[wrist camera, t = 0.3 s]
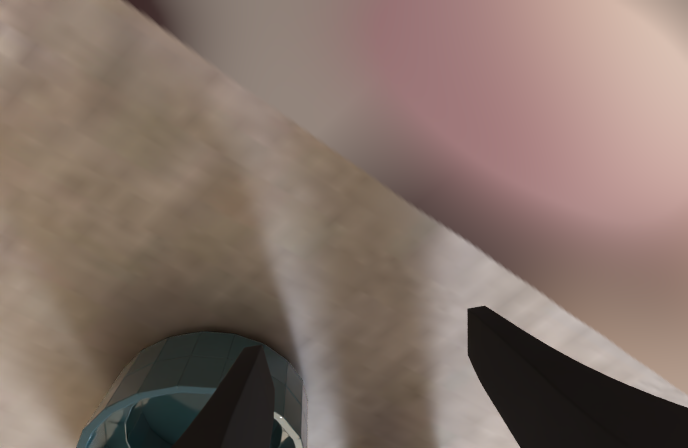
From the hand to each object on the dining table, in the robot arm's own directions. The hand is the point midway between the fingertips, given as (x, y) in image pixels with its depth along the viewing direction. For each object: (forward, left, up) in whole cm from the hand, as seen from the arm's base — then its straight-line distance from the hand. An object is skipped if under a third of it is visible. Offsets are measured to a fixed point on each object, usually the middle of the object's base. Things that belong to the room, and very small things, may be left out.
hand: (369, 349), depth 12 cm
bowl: (-11, +11, -10) cm, 19 cm away
